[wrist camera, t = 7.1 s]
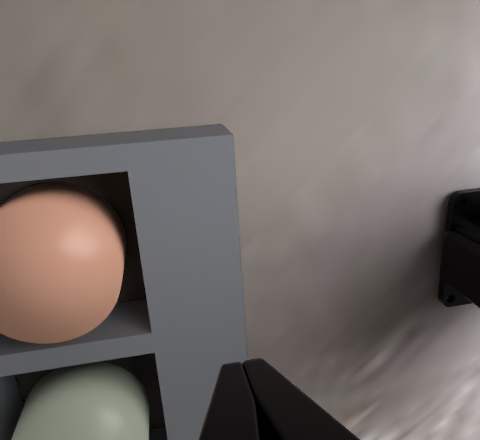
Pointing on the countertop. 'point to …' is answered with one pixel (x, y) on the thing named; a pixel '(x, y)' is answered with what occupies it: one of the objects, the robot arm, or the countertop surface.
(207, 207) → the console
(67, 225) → the button terracotta
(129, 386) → the button sage
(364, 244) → the countertop surface
